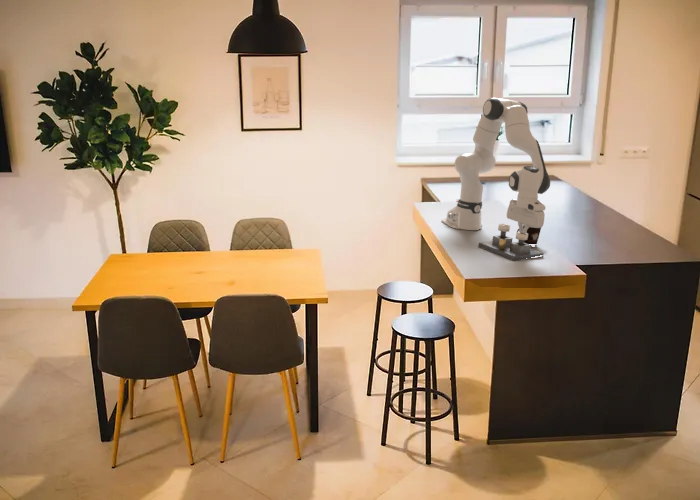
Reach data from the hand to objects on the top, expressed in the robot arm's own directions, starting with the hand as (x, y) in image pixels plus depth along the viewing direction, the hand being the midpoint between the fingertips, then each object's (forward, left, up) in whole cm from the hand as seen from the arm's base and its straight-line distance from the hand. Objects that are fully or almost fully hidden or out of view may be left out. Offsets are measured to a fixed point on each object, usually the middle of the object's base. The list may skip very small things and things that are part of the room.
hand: (522, 232), depth 327 cm
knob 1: (-12, 0, -5) cm, 13 cm away
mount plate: (-6, 0, -11) cm, 12 cm away
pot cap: (-6, -6, -9) cm, 12 cm away
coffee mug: (-13, +17, -11) cm, 24 cm away
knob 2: (0, 0, -6) cm, 6 cm away
